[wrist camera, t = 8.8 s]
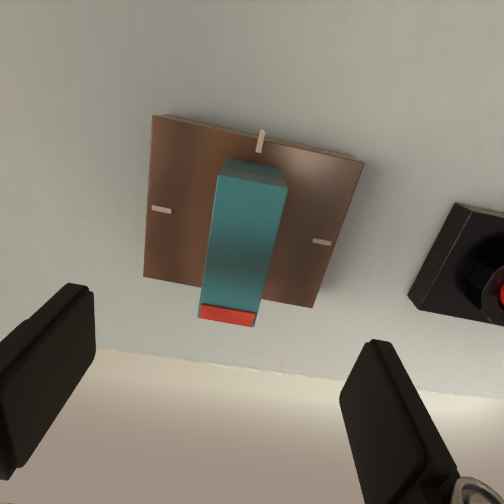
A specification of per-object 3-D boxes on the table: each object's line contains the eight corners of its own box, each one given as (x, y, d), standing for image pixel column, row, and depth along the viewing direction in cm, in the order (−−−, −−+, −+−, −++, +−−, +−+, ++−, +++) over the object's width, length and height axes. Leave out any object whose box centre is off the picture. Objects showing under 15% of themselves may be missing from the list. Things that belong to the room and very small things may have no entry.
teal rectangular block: (228, 157, 20) (217, 175, 15) (281, 168, 20) (289, 189, 15) (210, 273, 24) (196, 320, 19) (255, 282, 24) (253, 330, 19)
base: (154, 265, 27) (141, 284, 24) (165, 105, 21) (151, 104, 19) (305, 294, 28) (310, 315, 25) (355, 147, 22) (369, 153, 19)
